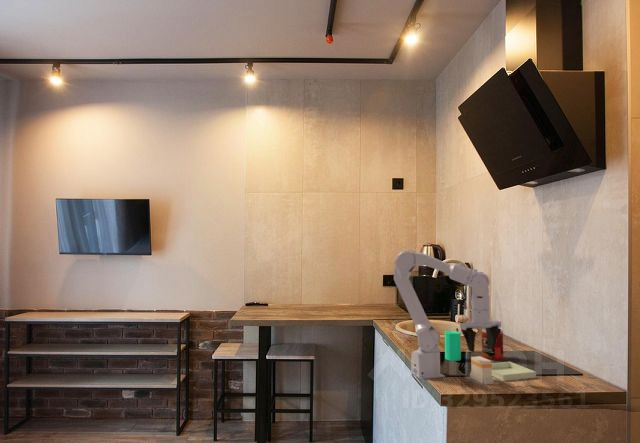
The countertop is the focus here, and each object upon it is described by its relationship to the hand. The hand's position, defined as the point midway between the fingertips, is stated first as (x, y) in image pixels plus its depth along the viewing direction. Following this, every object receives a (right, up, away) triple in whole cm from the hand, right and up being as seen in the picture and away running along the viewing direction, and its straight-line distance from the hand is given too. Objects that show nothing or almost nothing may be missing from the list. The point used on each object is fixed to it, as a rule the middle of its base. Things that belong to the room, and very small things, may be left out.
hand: (481, 350), depth 148 cm
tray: (+11, -11, +7) cm, 17 cm away
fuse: (0, -10, -1) cm, 10 cm away
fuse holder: (0, -10, -1) cm, 10 cm away
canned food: (+15, -12, +30) cm, 35 cm away
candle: (-1, -12, +28) cm, 31 cm away
